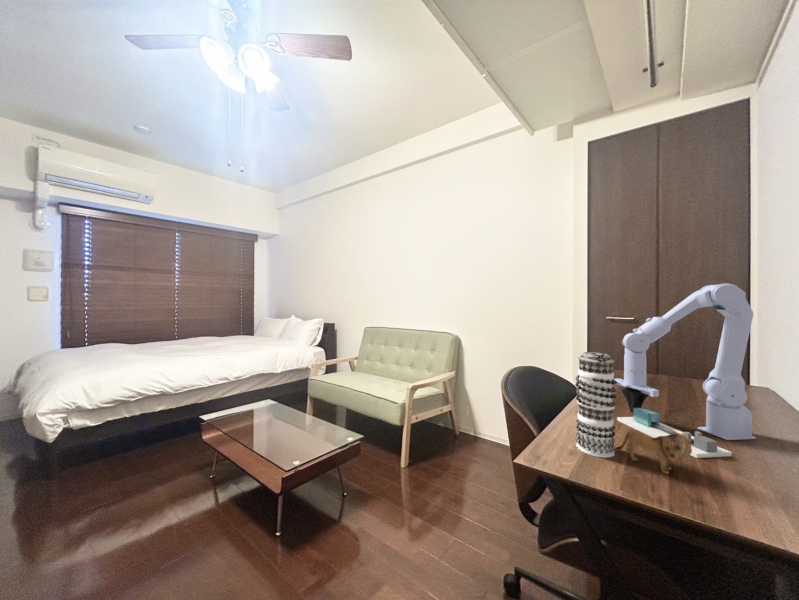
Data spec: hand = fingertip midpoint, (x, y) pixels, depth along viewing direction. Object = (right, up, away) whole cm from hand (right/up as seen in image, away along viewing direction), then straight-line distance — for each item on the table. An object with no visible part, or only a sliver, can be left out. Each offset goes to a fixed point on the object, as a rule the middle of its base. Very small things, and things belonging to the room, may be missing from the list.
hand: (634, 412), depth 99 cm
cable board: (+1, -3, -11) cm, 12 cm away
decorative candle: (-25, -3, -19) cm, 32 cm away
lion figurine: (-16, -3, -26) cm, 31 cm away
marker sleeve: (0, -2, -4) cm, 4 cm away
